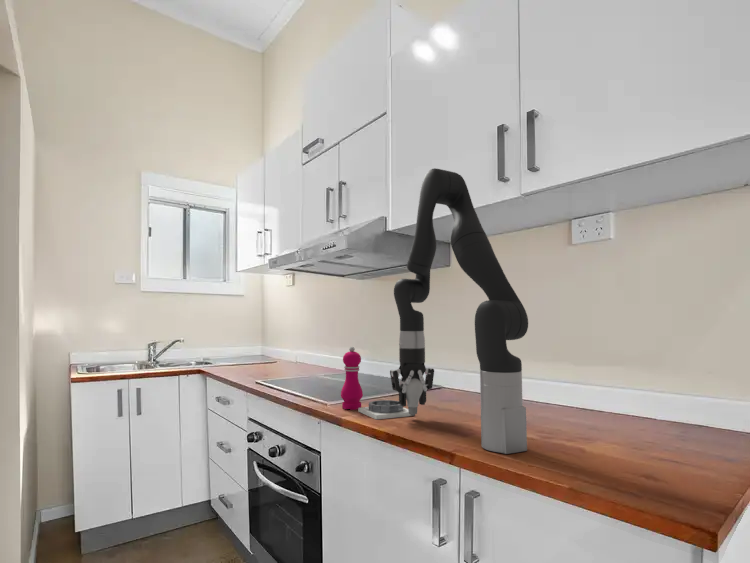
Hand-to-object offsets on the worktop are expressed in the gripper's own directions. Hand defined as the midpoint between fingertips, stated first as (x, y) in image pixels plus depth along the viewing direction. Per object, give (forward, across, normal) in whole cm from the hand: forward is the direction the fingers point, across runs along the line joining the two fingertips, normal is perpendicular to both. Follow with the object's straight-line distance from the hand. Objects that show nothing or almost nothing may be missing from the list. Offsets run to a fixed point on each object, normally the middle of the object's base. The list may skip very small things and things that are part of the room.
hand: (412, 404), depth 135 cm
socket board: (+4, -3, +11) cm, 12 cm away
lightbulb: (+3, 0, 0) cm, 3 cm away
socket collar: (+3, -3, +11) cm, 12 cm away
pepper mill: (+4, -9, +24) cm, 26 cm away
